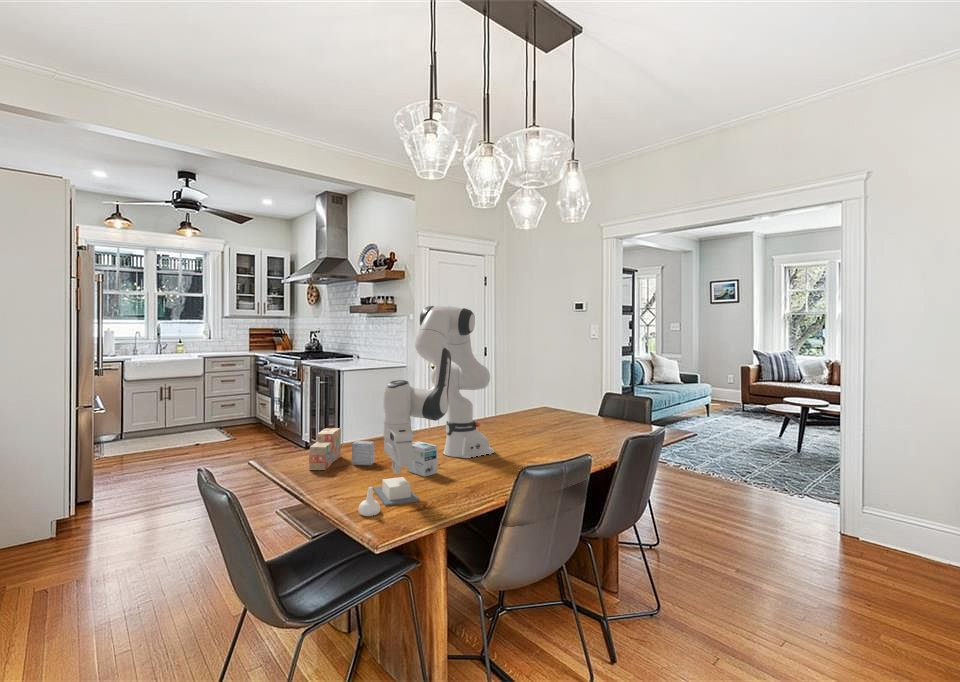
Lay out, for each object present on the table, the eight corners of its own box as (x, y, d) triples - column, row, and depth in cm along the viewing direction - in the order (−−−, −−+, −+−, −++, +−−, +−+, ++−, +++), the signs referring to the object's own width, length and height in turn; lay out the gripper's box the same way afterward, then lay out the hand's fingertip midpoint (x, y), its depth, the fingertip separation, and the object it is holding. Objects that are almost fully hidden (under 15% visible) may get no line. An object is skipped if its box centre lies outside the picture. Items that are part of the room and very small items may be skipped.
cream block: (402, 476, 166) (410, 484, 158) (402, 488, 166) (410, 497, 158) (382, 479, 163) (389, 487, 155) (382, 491, 163) (389, 500, 155)
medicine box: (374, 462, 199) (374, 441, 199) (370, 465, 194) (371, 444, 194) (355, 461, 200) (355, 440, 199) (351, 465, 195) (351, 443, 195)
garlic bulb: (355, 517, 143) (354, 491, 142) (363, 508, 150) (362, 483, 149) (375, 519, 142) (375, 493, 141) (383, 509, 149) (382, 484, 148)
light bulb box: (438, 473, 186) (438, 445, 185) (424, 477, 181) (424, 448, 180) (419, 467, 193) (419, 440, 192) (406, 471, 188) (406, 443, 188)
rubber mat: (404, 485, 171) (404, 483, 171) (419, 501, 156) (419, 499, 156) (372, 489, 167) (372, 487, 167) (385, 506, 151) (385, 504, 151)
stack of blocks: (325, 471, 187) (325, 439, 186) (308, 471, 187) (309, 439, 186) (340, 456, 208) (340, 427, 208) (325, 456, 208) (326, 427, 208)
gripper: (379, 425, 167) (379, 465, 168) (396, 438, 149) (395, 483, 149) (397, 424, 170) (397, 463, 170) (416, 436, 152) (415, 480, 152)
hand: (396, 473), depth 160 cm, fingers closed
